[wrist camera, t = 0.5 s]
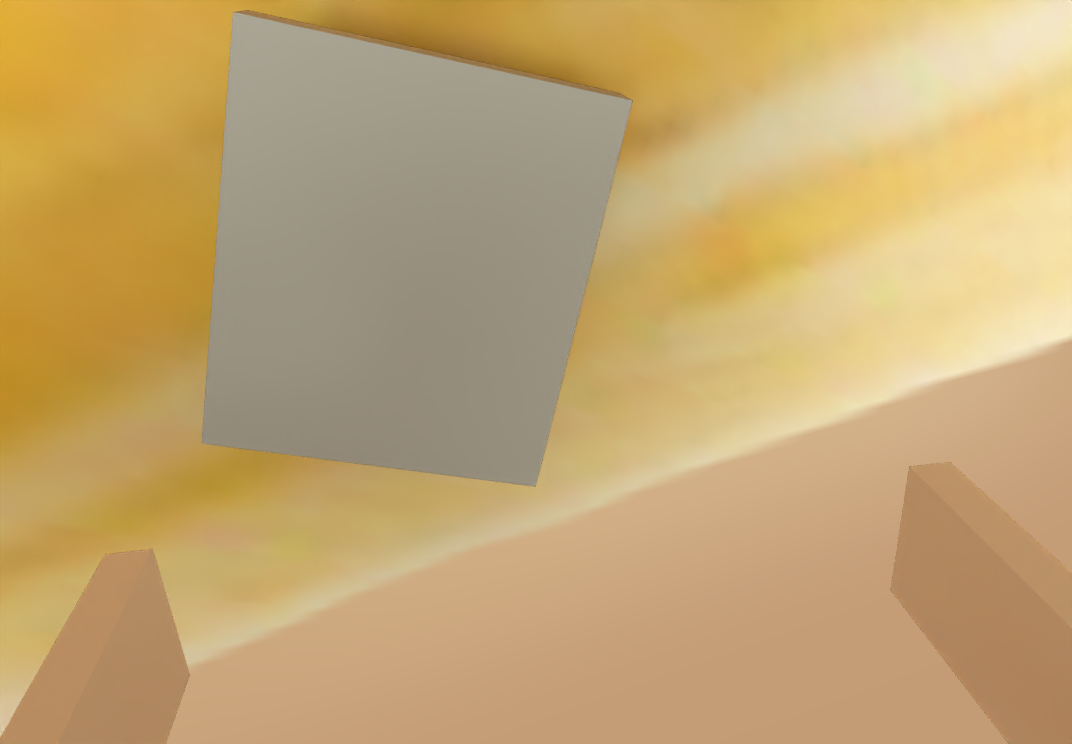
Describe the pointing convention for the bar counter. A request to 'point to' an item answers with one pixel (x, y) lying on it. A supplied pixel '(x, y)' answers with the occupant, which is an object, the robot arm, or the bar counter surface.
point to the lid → (399, 251)
